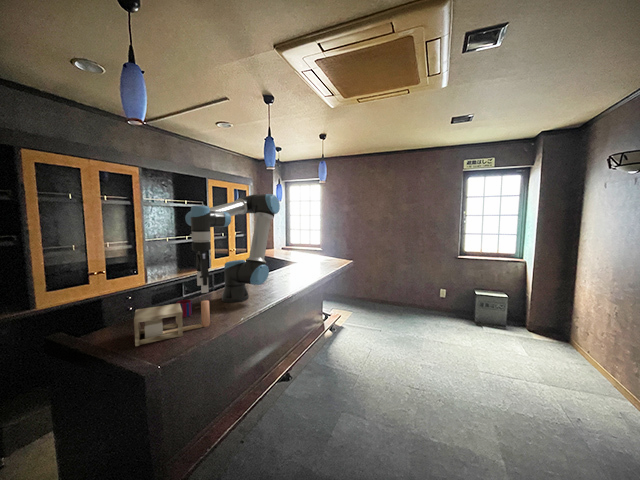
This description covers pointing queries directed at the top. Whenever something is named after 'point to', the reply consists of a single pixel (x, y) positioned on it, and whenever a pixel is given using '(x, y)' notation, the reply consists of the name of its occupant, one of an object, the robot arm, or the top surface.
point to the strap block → (156, 328)
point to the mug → (186, 307)
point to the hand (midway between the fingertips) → (202, 288)
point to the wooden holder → (158, 313)
